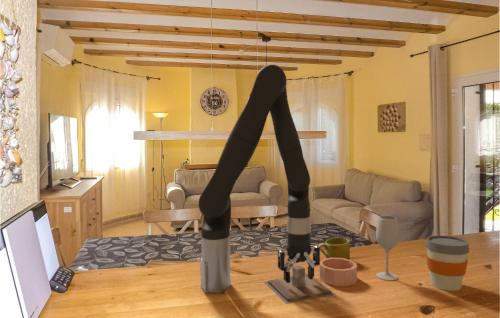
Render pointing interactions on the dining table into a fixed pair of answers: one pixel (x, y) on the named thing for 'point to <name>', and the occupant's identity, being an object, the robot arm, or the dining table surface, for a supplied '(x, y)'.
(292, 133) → the robot arm
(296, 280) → the lid
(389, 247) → the wineglass
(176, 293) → the dining table surface
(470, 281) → the dining table surface
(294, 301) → the mat
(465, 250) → the reusable coffee cup
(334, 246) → the mug
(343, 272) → the bowl
